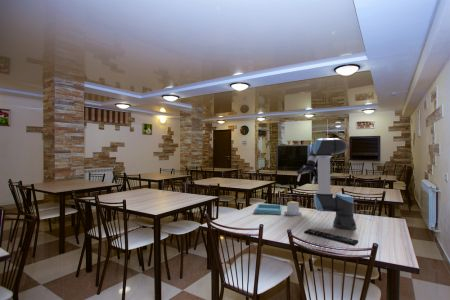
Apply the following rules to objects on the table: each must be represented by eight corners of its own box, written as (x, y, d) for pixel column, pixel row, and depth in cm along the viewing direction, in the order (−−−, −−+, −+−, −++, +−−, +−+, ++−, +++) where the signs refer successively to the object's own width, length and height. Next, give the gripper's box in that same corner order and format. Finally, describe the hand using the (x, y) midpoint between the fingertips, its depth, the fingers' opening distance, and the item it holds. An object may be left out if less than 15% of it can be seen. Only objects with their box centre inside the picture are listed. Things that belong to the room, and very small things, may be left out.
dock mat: (301, 217, 210) (301, 216, 210) (284, 216, 213) (284, 215, 213) (301, 213, 223) (301, 212, 223) (284, 212, 227) (284, 211, 227)
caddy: (291, 212, 223) (291, 201, 223) (298, 213, 218) (298, 202, 218) (287, 213, 218) (287, 202, 218) (294, 215, 213) (294, 203, 213)
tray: (281, 215, 216) (281, 210, 216) (255, 213, 221) (255, 209, 221) (281, 209, 237) (281, 205, 237) (258, 208, 242) (258, 203, 242)
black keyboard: (308, 230, 177) (308, 228, 177) (358, 242, 155) (358, 239, 155) (303, 233, 172) (303, 230, 172) (354, 246, 149) (354, 243, 149)
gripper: (326, 165, 229) (320, 186, 222) (300, 161, 245) (293, 181, 238) (324, 161, 224) (318, 183, 217) (297, 158, 240) (290, 177, 233)
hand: (305, 182), depth 227 cm, fingers open, 13 cm apart
